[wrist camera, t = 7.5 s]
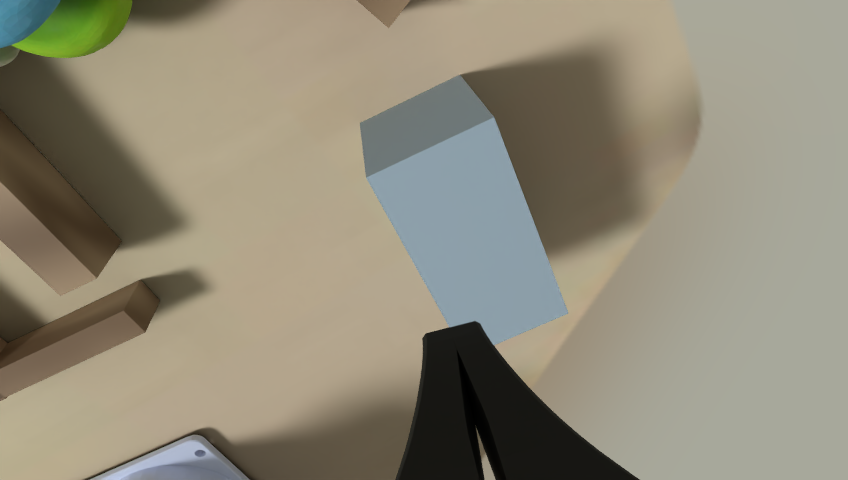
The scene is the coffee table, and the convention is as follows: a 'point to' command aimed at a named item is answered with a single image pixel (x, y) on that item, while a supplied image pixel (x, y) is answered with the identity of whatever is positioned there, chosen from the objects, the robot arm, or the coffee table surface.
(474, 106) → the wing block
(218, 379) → the coffee table surface
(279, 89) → the coffee table surface
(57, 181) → the frame
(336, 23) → the coffee table surface
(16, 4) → the rainbow fan toy
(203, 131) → the coffee table surface
